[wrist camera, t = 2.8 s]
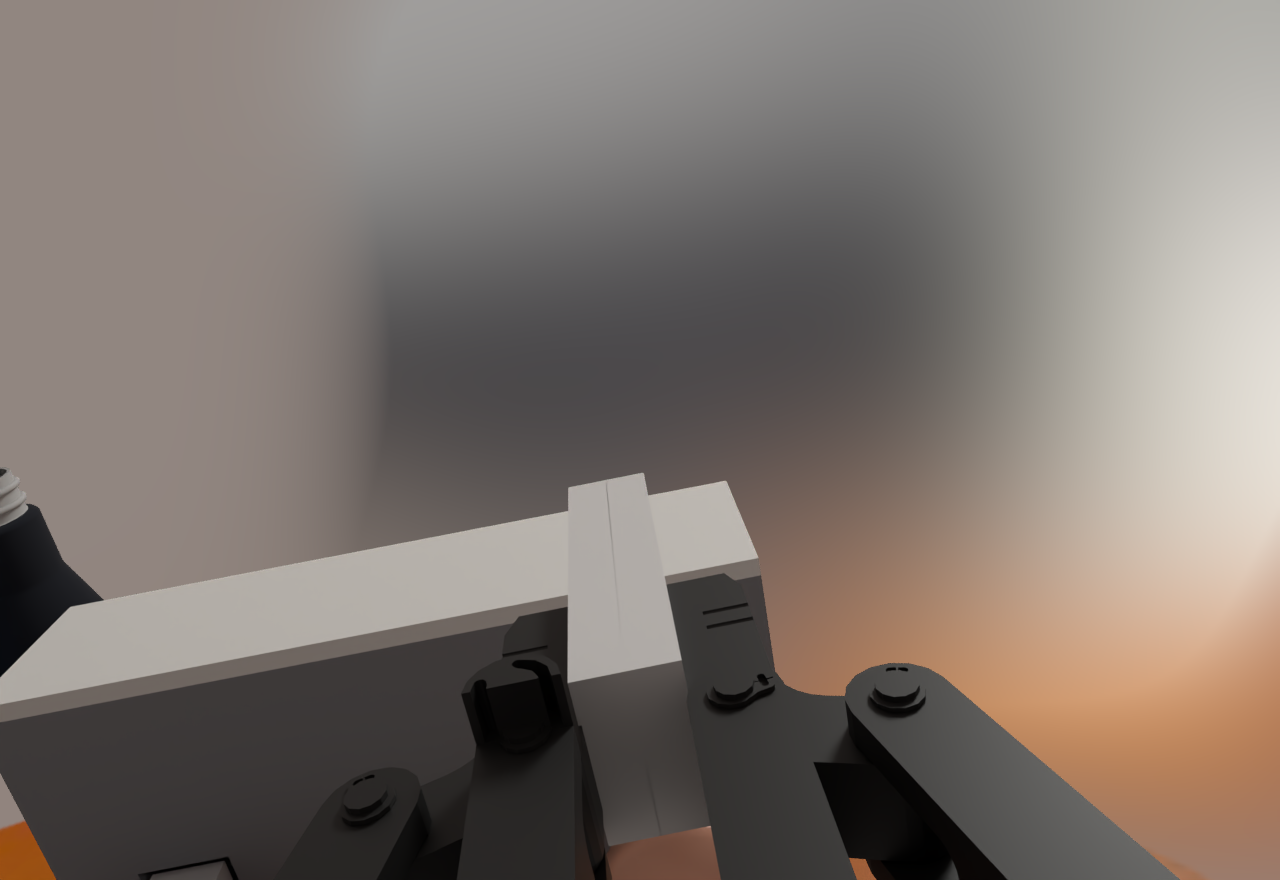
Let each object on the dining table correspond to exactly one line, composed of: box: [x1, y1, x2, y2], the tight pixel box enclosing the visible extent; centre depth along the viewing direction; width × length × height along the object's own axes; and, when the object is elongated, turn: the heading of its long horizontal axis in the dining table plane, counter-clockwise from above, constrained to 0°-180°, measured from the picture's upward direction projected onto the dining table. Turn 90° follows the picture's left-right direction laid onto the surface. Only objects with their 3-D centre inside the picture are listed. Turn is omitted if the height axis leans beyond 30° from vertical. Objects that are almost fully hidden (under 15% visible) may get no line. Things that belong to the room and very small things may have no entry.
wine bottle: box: [0, 467, 104, 677], centre depth 41 cm, size 6×6×30 cm
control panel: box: [0, 481, 775, 880], centre depth 34 cm, size 6×24×21 cm, turn 94°
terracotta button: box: [606, 826, 721, 880], centre depth 29 cm, size 4×5×5 cm
